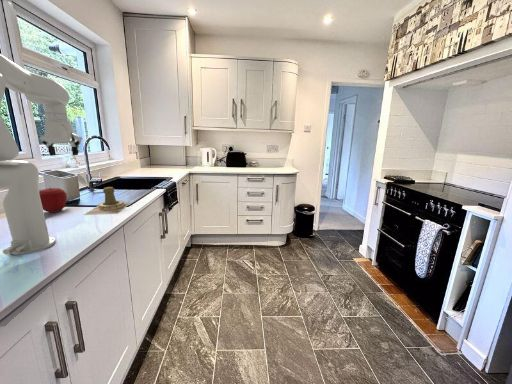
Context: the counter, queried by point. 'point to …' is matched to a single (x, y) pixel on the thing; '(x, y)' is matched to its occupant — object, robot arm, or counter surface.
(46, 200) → the apple
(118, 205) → the beech ring
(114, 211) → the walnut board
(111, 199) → the cork
